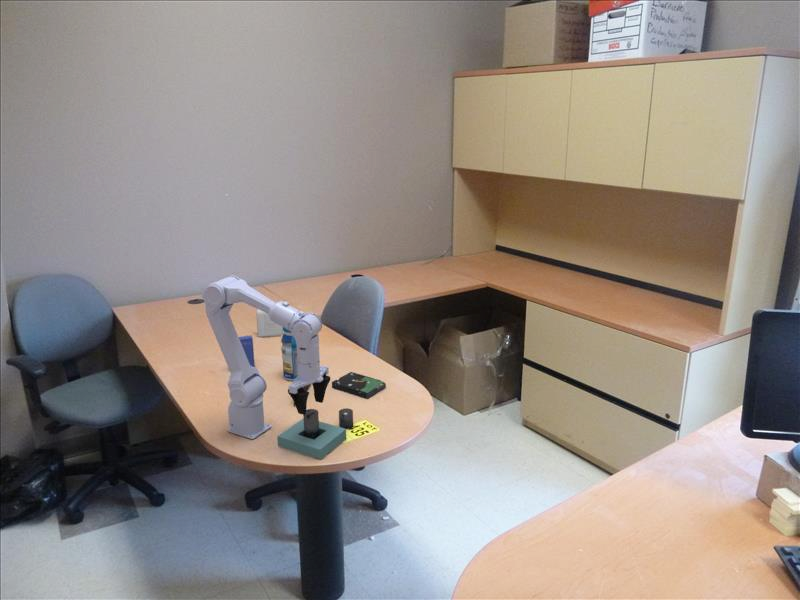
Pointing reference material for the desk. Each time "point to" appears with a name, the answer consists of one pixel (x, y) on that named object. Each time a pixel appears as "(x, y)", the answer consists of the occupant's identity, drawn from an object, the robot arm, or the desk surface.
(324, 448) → the hole block
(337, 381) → the disk drive
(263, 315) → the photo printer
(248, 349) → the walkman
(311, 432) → the tall pin
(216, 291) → the robot arm
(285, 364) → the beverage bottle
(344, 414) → the short pin
